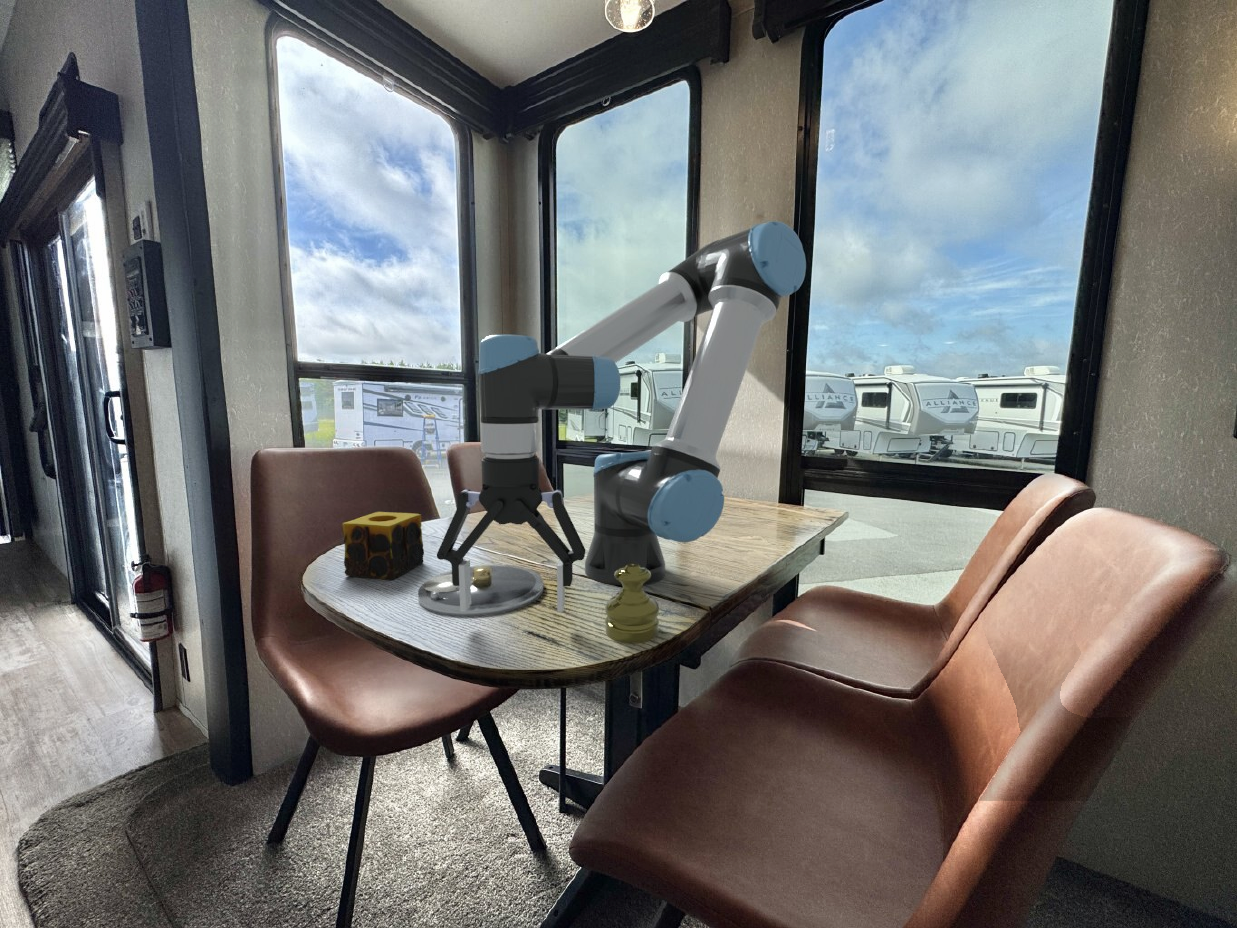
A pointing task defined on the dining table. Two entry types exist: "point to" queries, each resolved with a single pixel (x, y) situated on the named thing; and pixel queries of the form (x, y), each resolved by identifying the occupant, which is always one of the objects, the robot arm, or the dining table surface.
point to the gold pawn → (632, 608)
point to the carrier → (483, 591)
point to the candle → (383, 545)
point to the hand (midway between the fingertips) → (513, 607)
